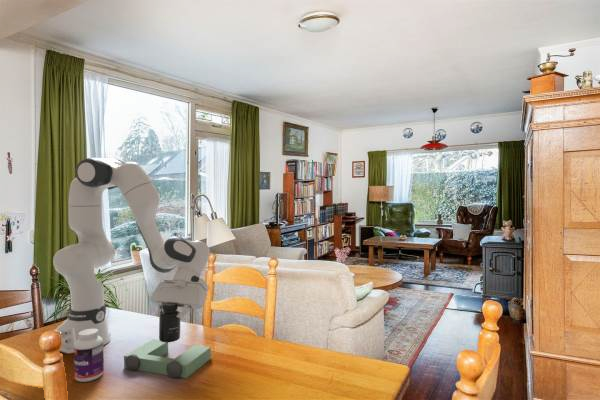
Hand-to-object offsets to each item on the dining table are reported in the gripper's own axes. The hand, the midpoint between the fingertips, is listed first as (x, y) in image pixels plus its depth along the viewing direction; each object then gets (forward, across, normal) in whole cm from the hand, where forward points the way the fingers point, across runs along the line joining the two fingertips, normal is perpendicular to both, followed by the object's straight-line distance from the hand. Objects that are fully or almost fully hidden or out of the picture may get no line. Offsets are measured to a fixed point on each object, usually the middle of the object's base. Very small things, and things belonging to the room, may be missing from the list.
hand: (168, 317), depth 128 cm
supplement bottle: (+5, 0, +6) cm, 8 cm away
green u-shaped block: (+11, 0, +10) cm, 15 cm away
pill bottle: (+22, -18, 0) cm, 29 cm away
